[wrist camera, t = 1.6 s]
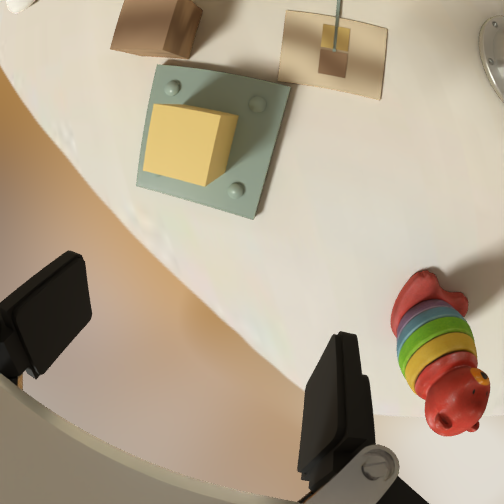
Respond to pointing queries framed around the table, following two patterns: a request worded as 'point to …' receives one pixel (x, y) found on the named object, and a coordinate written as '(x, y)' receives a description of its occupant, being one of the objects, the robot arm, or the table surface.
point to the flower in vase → (18, 5)
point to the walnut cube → (157, 28)
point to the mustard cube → (189, 142)
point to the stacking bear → (439, 354)
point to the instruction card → (333, 53)
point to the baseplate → (244, 141)
